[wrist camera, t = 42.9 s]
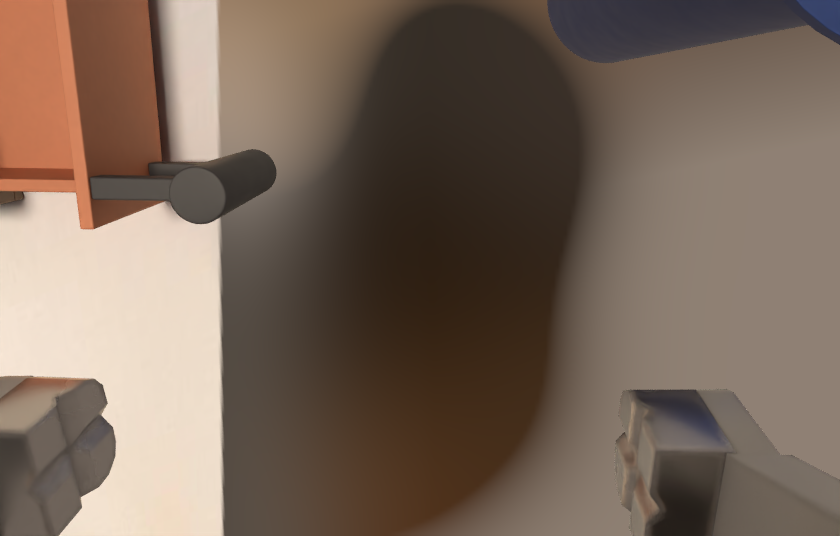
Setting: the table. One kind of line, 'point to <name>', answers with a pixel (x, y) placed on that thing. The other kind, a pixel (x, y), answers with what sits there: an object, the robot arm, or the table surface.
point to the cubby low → (10, 196)
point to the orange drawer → (101, 117)
